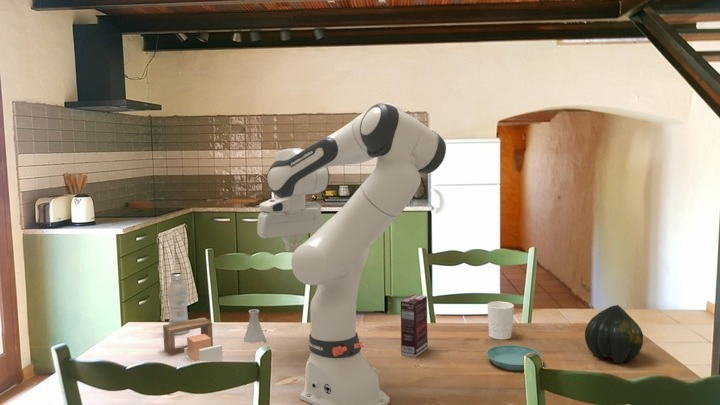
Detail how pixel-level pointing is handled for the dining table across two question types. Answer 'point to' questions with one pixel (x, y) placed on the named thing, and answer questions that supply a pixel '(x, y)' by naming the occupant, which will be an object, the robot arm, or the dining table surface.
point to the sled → (207, 354)
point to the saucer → (509, 356)
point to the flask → (254, 329)
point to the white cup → (500, 319)
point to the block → (197, 345)
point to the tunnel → (184, 326)
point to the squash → (614, 335)
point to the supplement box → (414, 325)
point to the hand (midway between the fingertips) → (291, 250)
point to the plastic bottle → (177, 300)
